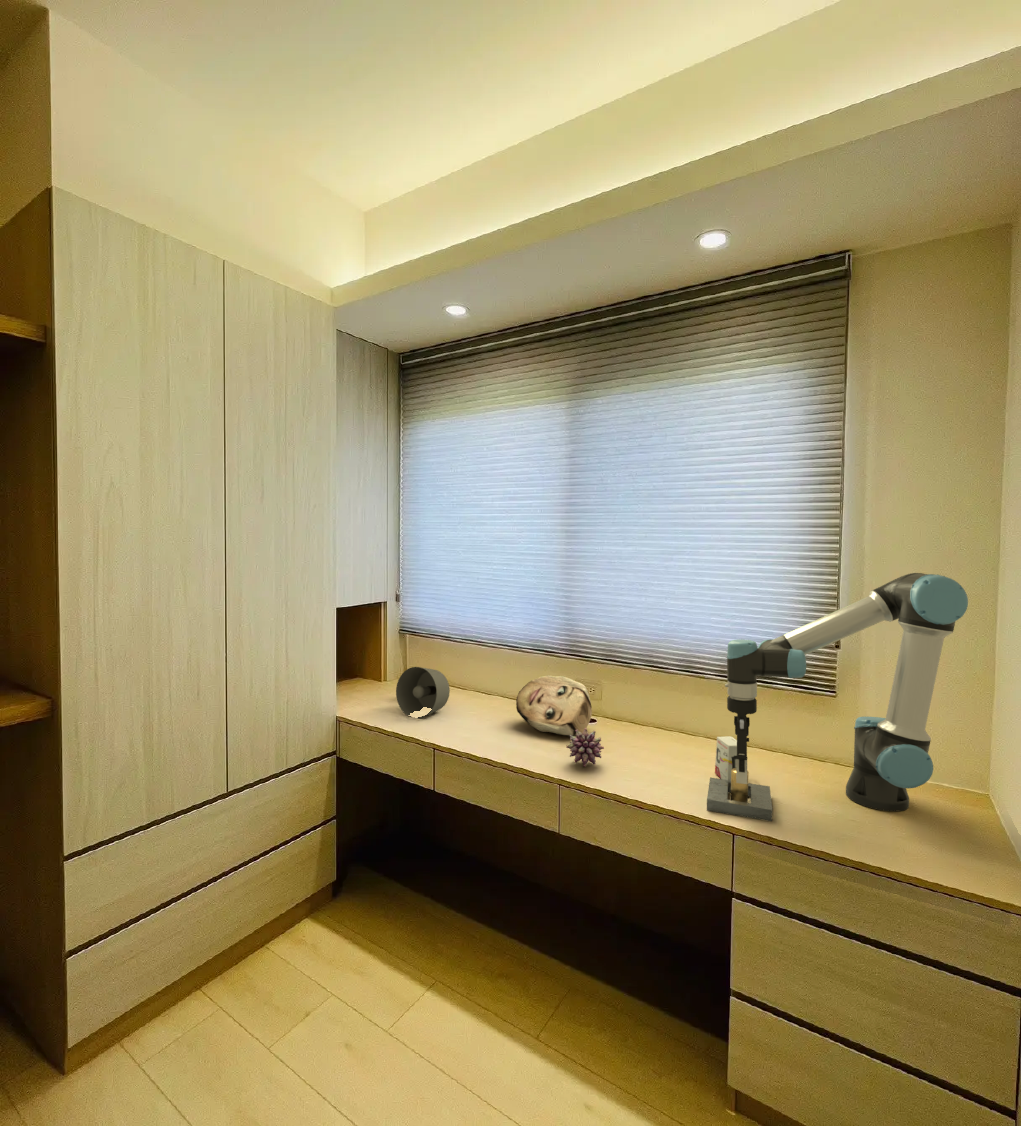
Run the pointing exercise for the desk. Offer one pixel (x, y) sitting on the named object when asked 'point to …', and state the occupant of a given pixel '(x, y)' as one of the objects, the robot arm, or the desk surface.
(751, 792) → the frame
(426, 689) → the light fixture
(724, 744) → the ink box
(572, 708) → the head sculpture
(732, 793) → the cylinder
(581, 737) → the purple spiky ball
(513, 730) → the desk surface
